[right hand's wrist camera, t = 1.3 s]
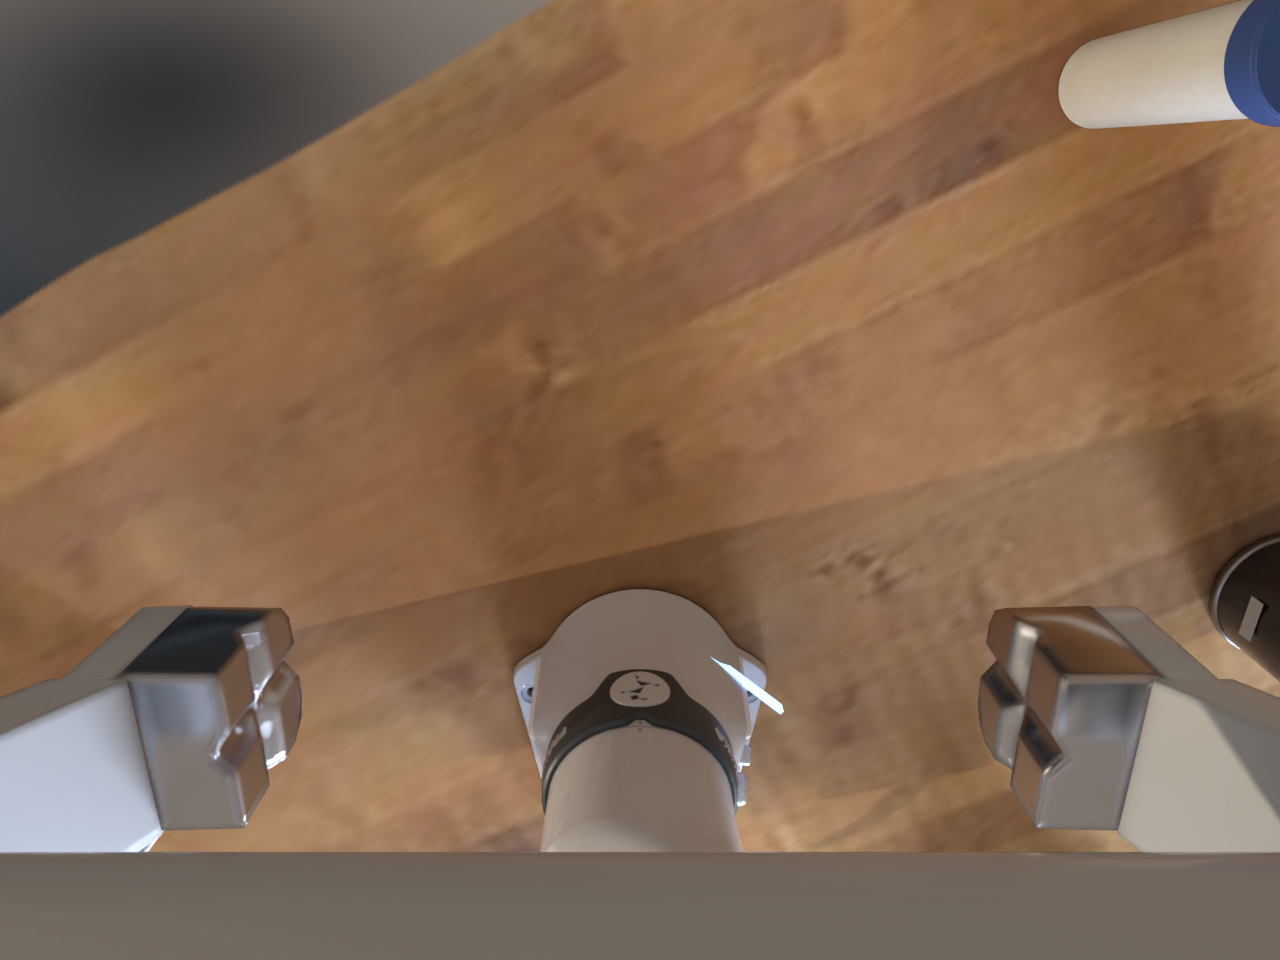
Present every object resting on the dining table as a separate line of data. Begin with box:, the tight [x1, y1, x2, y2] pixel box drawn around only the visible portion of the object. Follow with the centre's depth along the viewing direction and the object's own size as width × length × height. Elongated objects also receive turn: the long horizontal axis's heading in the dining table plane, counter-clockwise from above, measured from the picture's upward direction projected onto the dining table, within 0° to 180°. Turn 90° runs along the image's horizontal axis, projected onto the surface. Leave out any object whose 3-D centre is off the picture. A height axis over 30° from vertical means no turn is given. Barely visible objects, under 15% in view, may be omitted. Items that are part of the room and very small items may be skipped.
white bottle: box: [1058, 0, 1253, 129], centre depth 43 cm, size 5×5×18 cm
